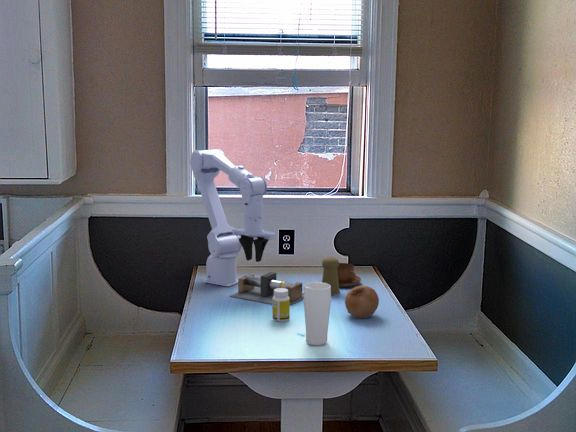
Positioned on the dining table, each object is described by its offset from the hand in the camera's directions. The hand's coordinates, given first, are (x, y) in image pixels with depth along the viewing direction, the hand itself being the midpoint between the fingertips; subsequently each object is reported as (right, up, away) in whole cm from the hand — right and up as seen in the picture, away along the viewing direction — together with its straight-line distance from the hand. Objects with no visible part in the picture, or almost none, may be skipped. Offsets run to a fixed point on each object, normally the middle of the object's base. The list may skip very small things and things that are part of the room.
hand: (253, 260), depth 224 cm
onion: (+31, -15, -19) cm, 39 cm away
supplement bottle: (+9, -15, -22) cm, 28 cm away
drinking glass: (+18, -19, -40) cm, 47 cm away
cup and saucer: (+28, -9, +13) cm, 32 cm away
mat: (+5, -11, -1) cm, 12 cm away
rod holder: (+5, -11, -1) cm, 12 cm away
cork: (+24, -10, +3) cm, 26 cm away
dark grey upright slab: (+5, -11, -1) cm, 12 cm away
